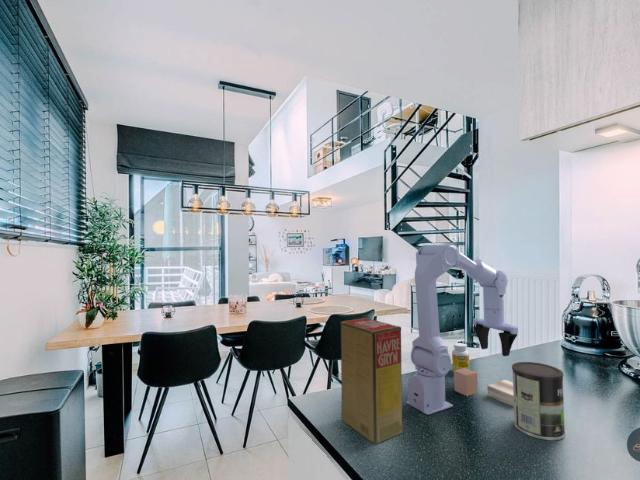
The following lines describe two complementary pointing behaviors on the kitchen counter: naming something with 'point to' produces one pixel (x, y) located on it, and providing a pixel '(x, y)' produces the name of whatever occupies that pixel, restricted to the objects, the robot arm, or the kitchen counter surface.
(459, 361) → the supplement bottle
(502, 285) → the robot arm
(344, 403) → the food packaging
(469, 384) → the terracotta block
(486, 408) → the kitchen counter surface
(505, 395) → the base
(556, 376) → the coffee can
